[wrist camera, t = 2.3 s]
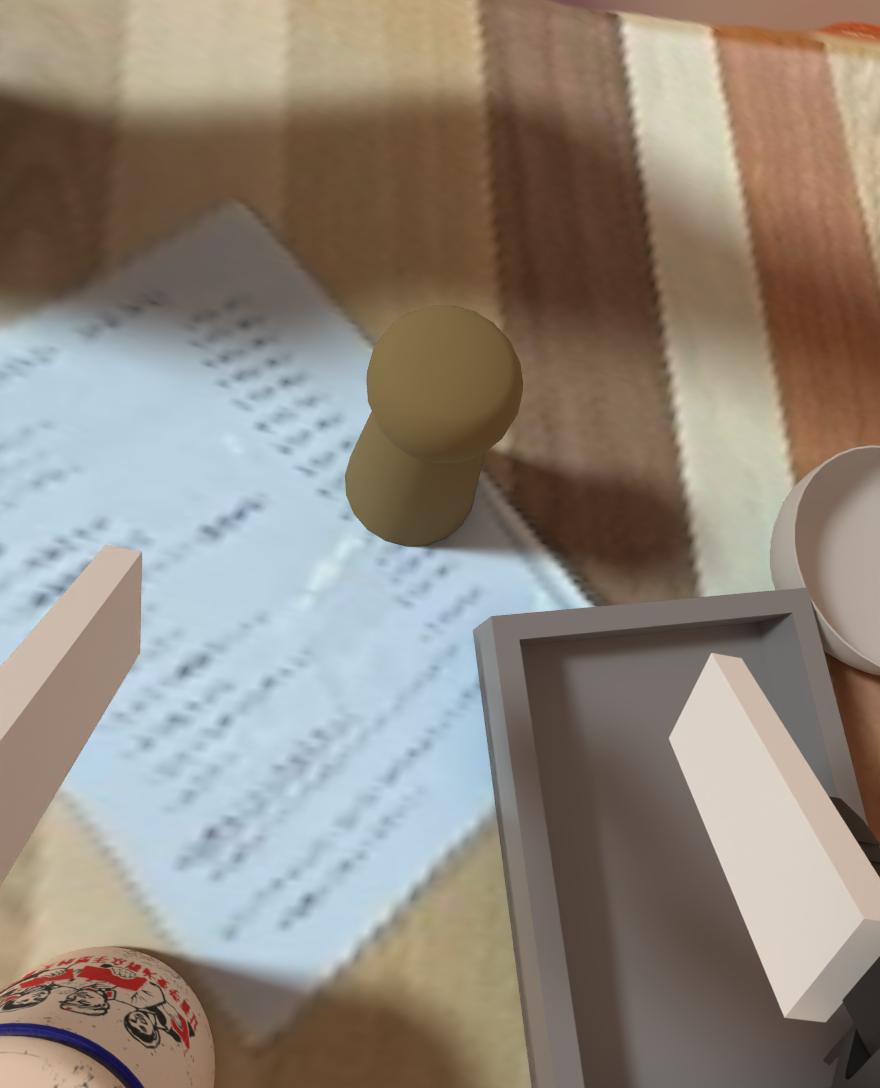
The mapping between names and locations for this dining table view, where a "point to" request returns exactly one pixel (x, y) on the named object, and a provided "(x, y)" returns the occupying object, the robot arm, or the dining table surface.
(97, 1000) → the teacup with lid
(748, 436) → the dining table surface
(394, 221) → the dining table surface
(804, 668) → the tray
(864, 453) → the saucepan
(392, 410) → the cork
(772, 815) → the robot arm
